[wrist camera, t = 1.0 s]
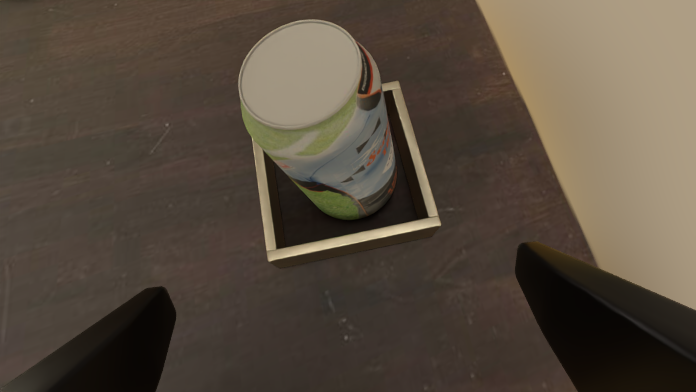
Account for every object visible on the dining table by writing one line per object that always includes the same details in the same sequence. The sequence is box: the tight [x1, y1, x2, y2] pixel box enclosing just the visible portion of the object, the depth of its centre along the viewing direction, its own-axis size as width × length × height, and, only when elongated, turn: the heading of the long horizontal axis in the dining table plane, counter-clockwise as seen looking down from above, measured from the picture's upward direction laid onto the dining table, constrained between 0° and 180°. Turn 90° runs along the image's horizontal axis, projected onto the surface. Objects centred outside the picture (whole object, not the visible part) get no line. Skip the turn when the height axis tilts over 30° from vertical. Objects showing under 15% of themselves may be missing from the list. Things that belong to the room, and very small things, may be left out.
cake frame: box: [252, 81, 441, 268], centre depth 23 cm, size 10×10×3 cm
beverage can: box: [238, 19, 397, 220], centre depth 19 cm, size 6×7×12 cm
